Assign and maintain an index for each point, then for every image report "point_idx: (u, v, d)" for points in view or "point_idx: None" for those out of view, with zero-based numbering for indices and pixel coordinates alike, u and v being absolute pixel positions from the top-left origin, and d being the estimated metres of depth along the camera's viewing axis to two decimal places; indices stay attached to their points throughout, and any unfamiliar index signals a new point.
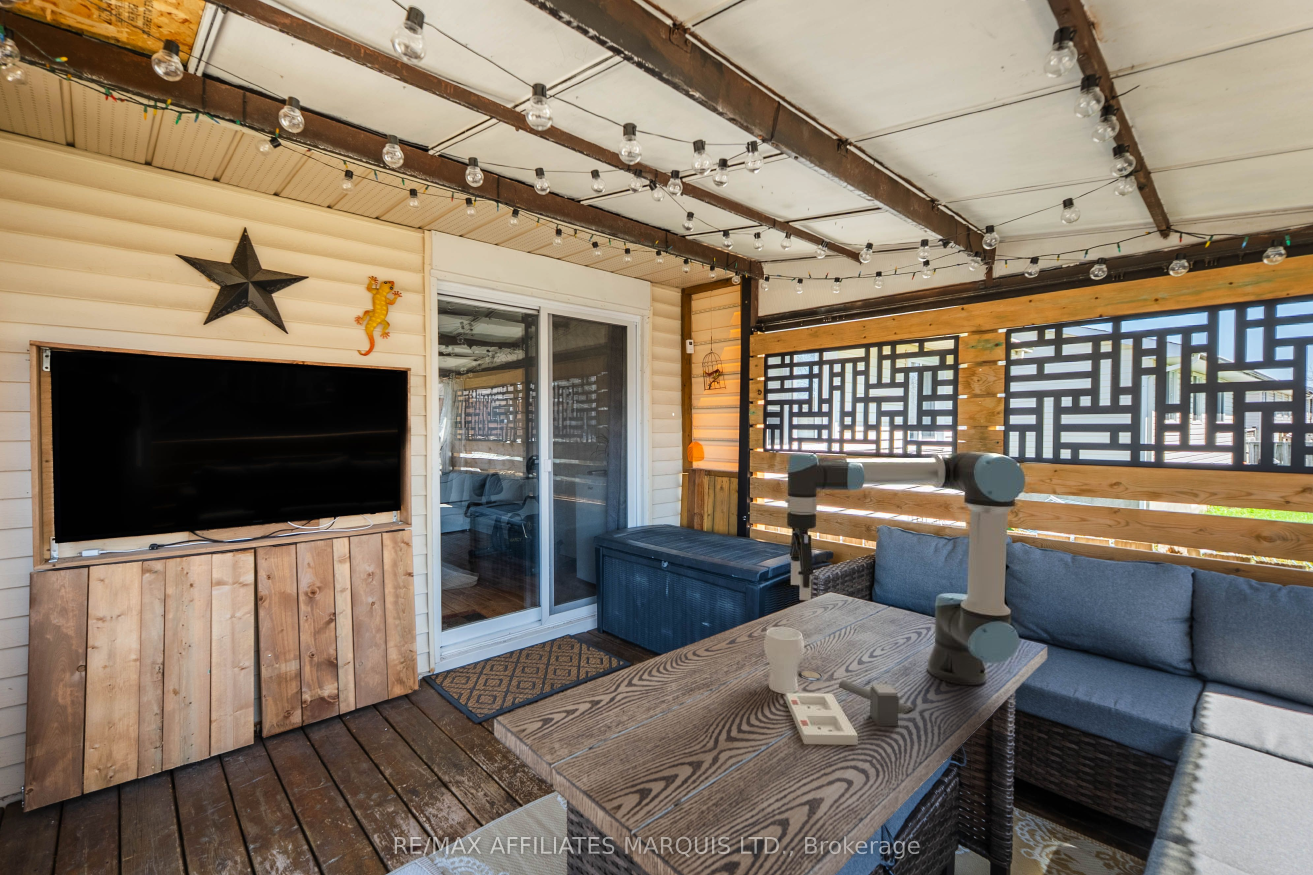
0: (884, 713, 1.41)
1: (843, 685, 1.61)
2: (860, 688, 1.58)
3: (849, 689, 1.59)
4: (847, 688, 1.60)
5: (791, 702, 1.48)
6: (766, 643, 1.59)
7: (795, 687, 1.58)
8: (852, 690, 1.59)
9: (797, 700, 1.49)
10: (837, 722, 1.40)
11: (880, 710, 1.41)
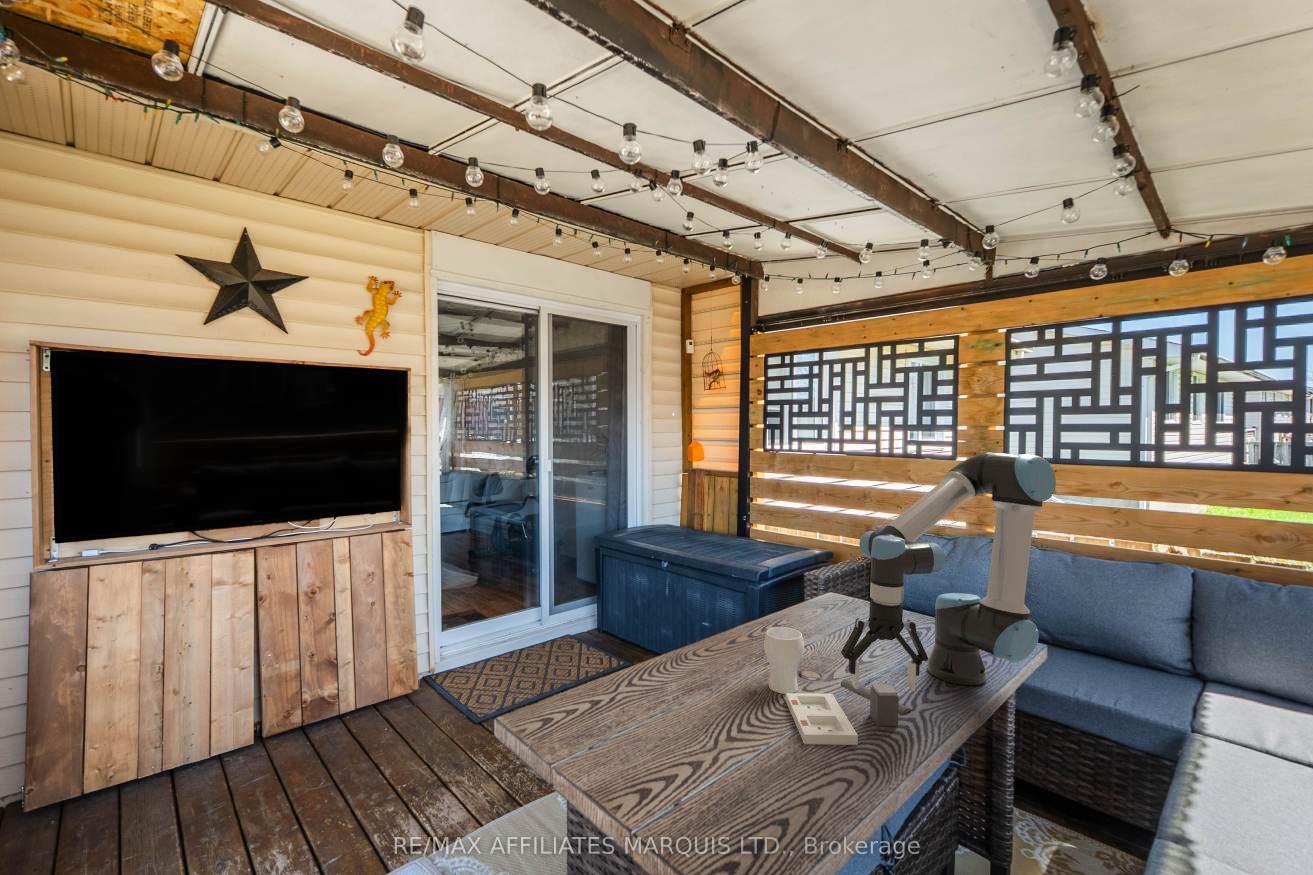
0: (884, 713, 1.41)
1: (844, 684, 1.62)
2: (861, 688, 1.58)
3: (850, 688, 1.60)
4: (848, 687, 1.60)
5: (791, 702, 1.48)
6: (766, 643, 1.59)
7: (795, 687, 1.58)
8: (853, 689, 1.59)
9: (797, 700, 1.49)
10: (837, 722, 1.40)
11: (880, 710, 1.41)
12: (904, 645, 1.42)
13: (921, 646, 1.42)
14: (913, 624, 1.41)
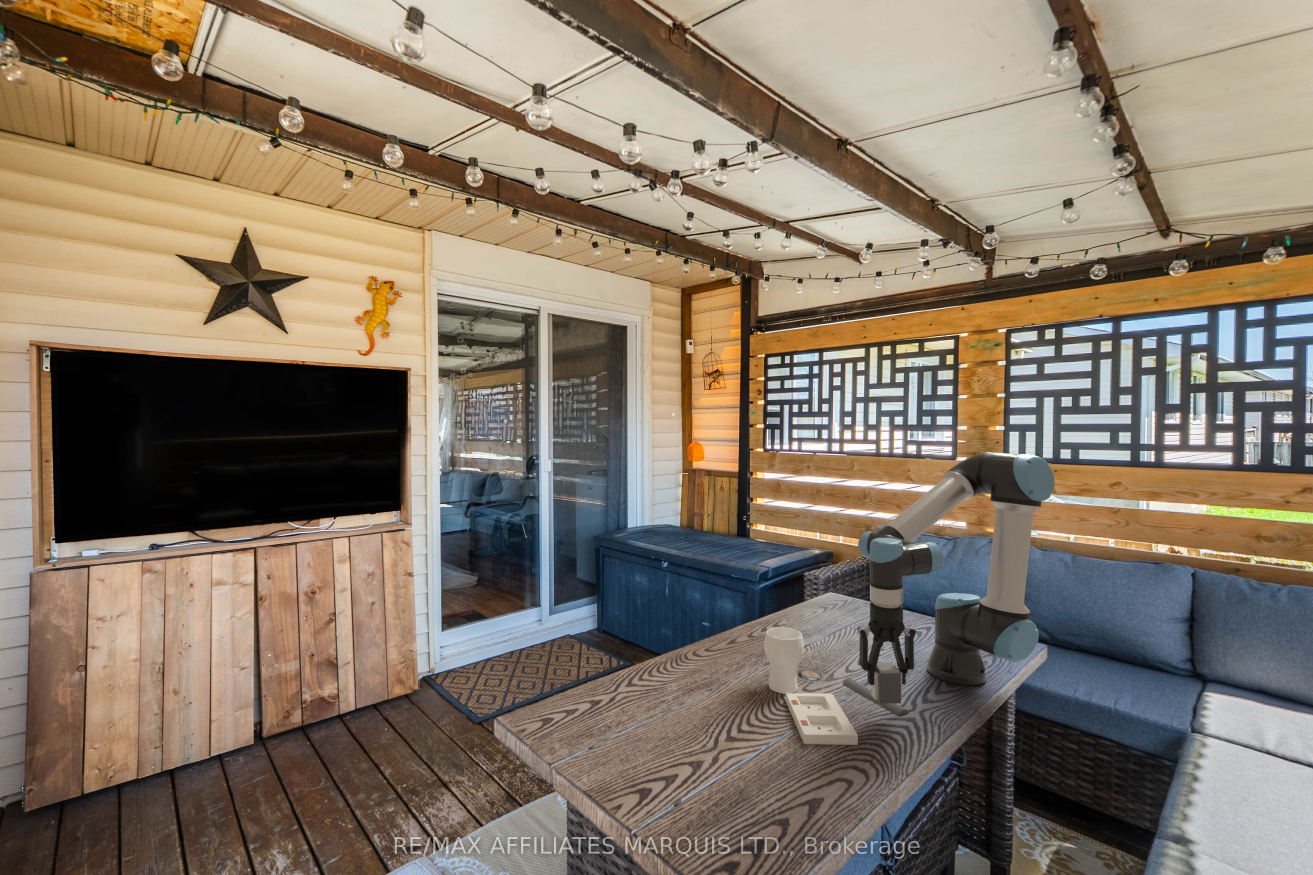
0: (886, 691, 1.41)
1: (847, 683, 1.62)
2: (862, 687, 1.59)
3: (851, 687, 1.60)
4: (850, 686, 1.61)
5: (791, 702, 1.48)
6: (766, 643, 1.59)
7: (795, 687, 1.58)
8: (854, 688, 1.60)
9: (797, 700, 1.49)
10: (837, 722, 1.40)
11: (882, 688, 1.41)
12: (897, 650, 1.42)
13: (912, 654, 1.42)
14: (914, 631, 1.42)
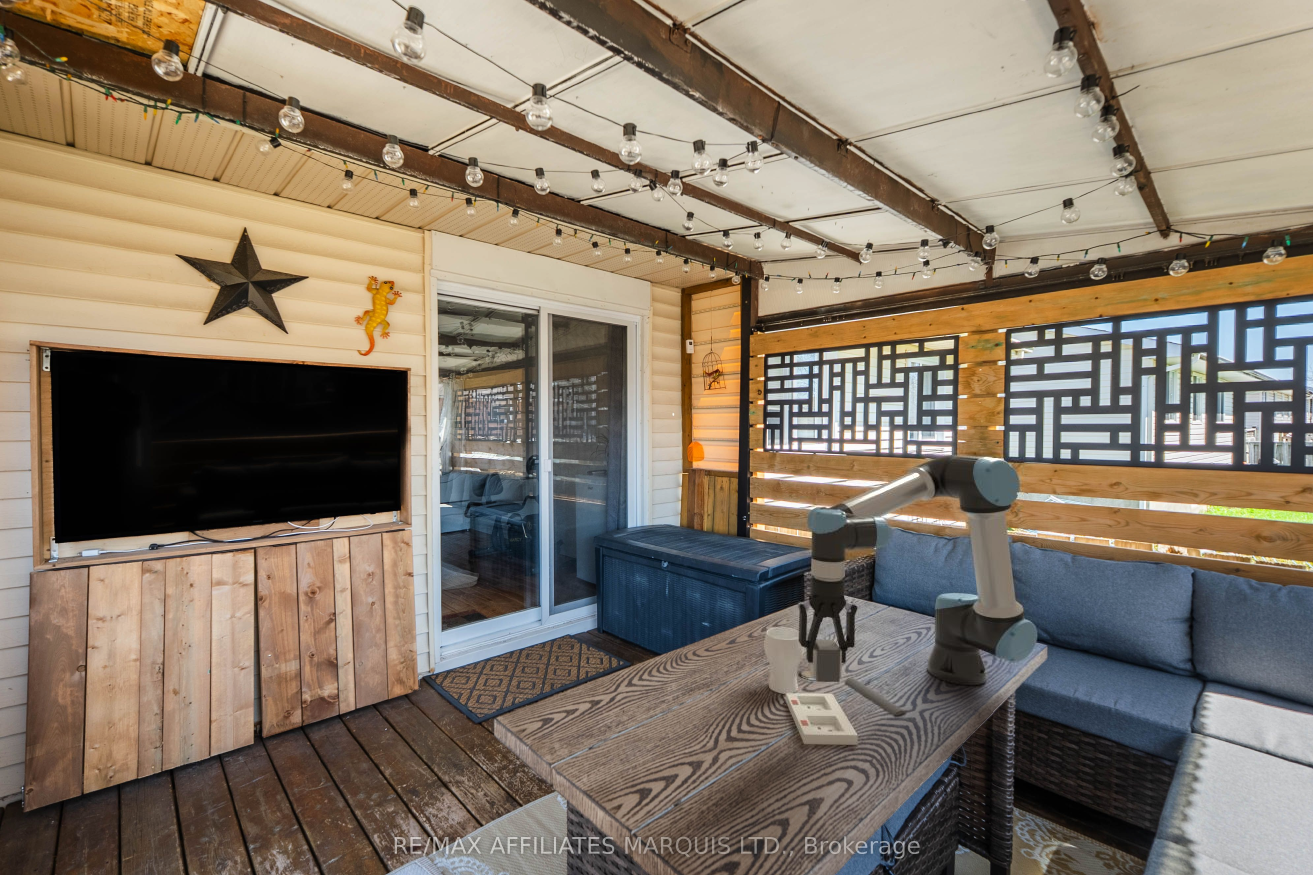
0: (825, 668, 1.35)
1: (849, 682, 1.63)
2: (863, 687, 1.59)
3: (852, 687, 1.61)
4: (851, 686, 1.61)
5: (791, 702, 1.48)
6: (766, 643, 1.59)
7: (795, 687, 1.58)
8: (855, 688, 1.60)
9: (797, 700, 1.49)
10: (837, 722, 1.40)
11: (821, 665, 1.35)
12: (837, 626, 1.36)
13: (853, 631, 1.36)
14: (855, 607, 1.35)
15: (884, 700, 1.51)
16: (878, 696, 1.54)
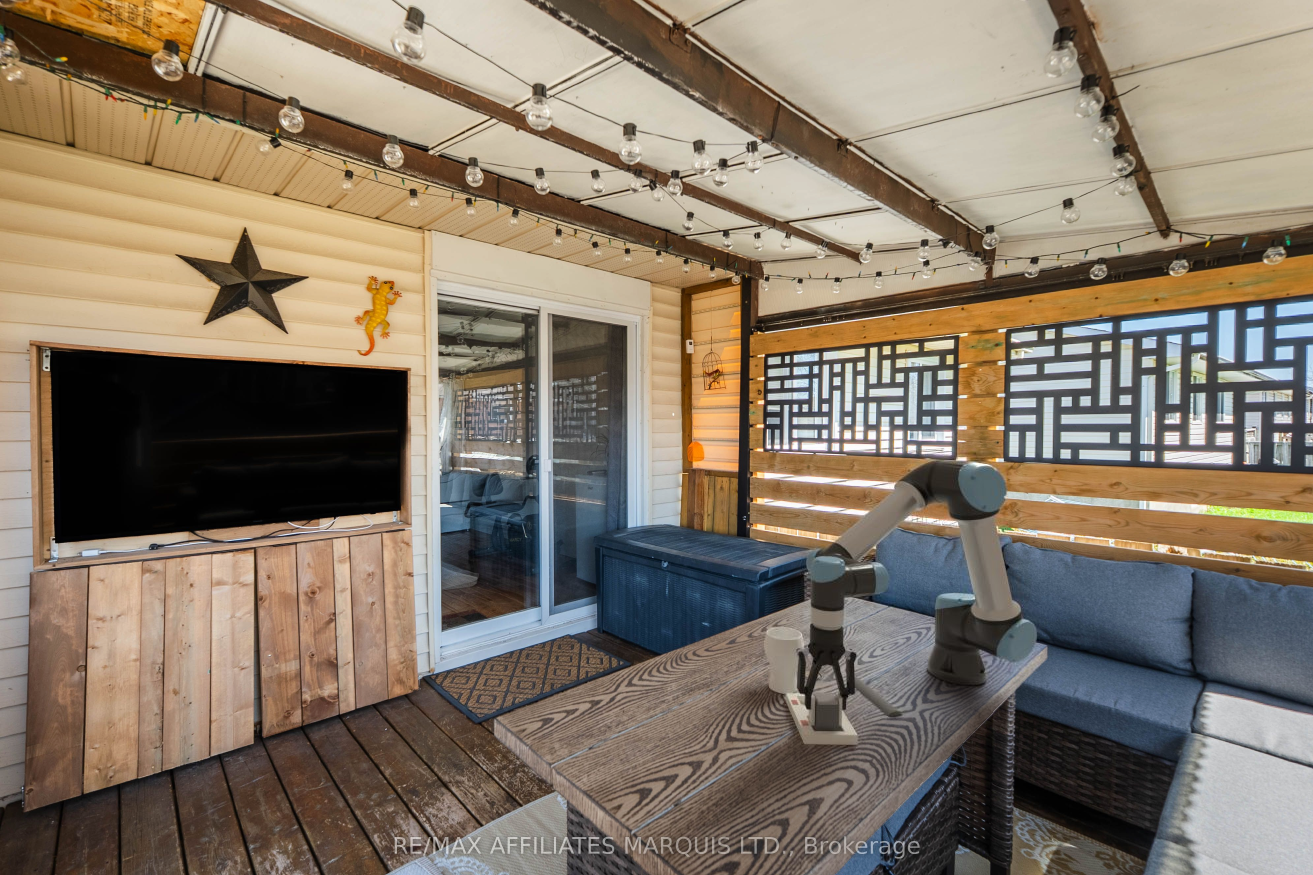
0: (824, 723, 1.35)
1: None
2: (864, 687, 1.59)
3: (855, 686, 1.61)
4: None
5: (791, 702, 1.48)
6: (766, 643, 1.59)
7: (795, 687, 1.58)
8: (857, 687, 1.60)
9: (797, 700, 1.49)
10: None
11: (820, 720, 1.35)
12: (837, 674, 1.36)
13: (853, 678, 1.36)
14: (854, 654, 1.36)
15: (882, 700, 1.51)
16: (877, 696, 1.53)
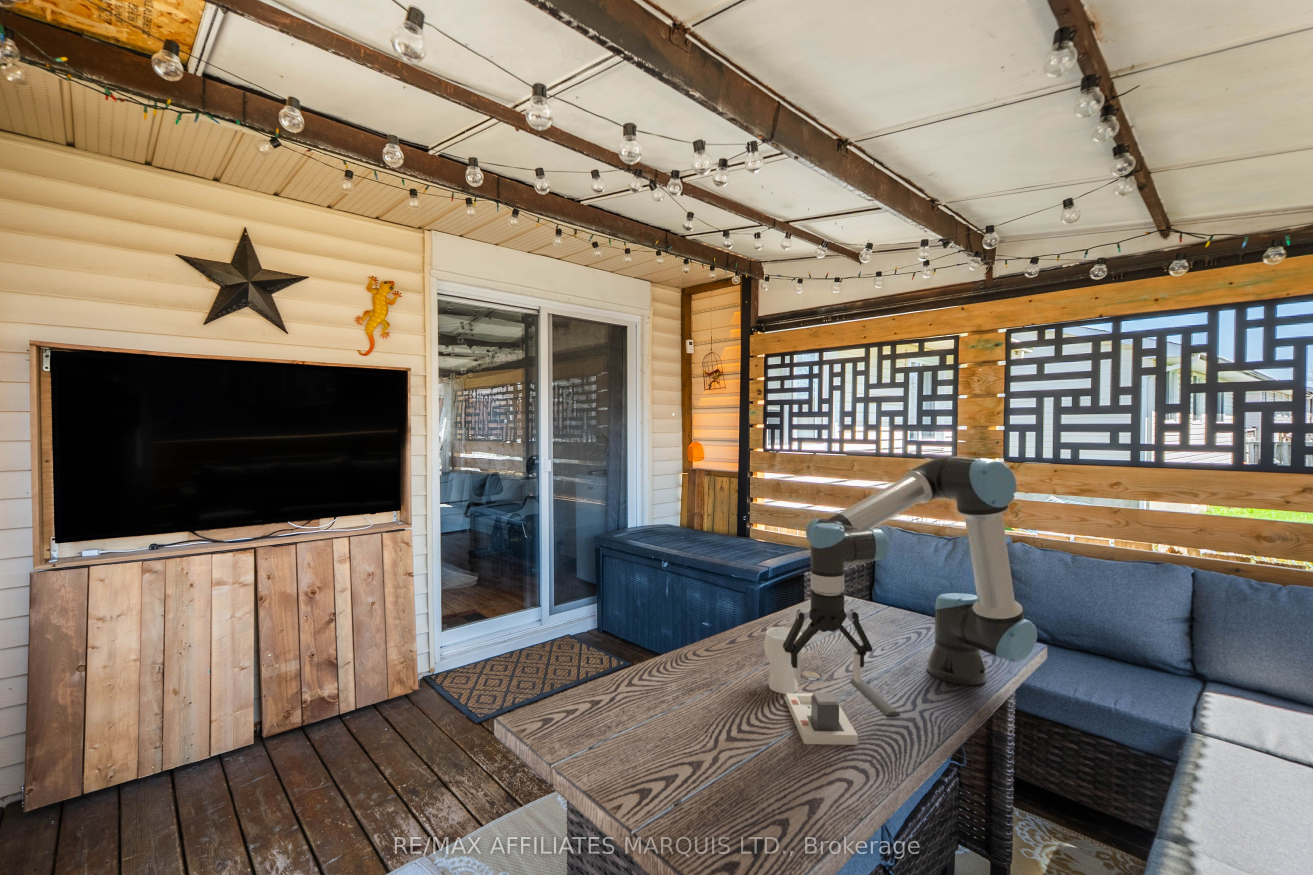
0: (824, 723, 1.35)
1: (853, 681, 1.63)
2: (865, 687, 1.59)
3: (856, 686, 1.61)
4: (855, 685, 1.62)
5: (791, 702, 1.48)
6: (766, 643, 1.59)
7: (795, 687, 1.58)
8: (857, 687, 1.60)
9: (797, 700, 1.49)
10: None
11: (820, 720, 1.35)
12: (847, 636, 1.36)
13: (865, 636, 1.36)
14: (855, 614, 1.36)
15: (881, 700, 1.51)
16: (876, 696, 1.53)
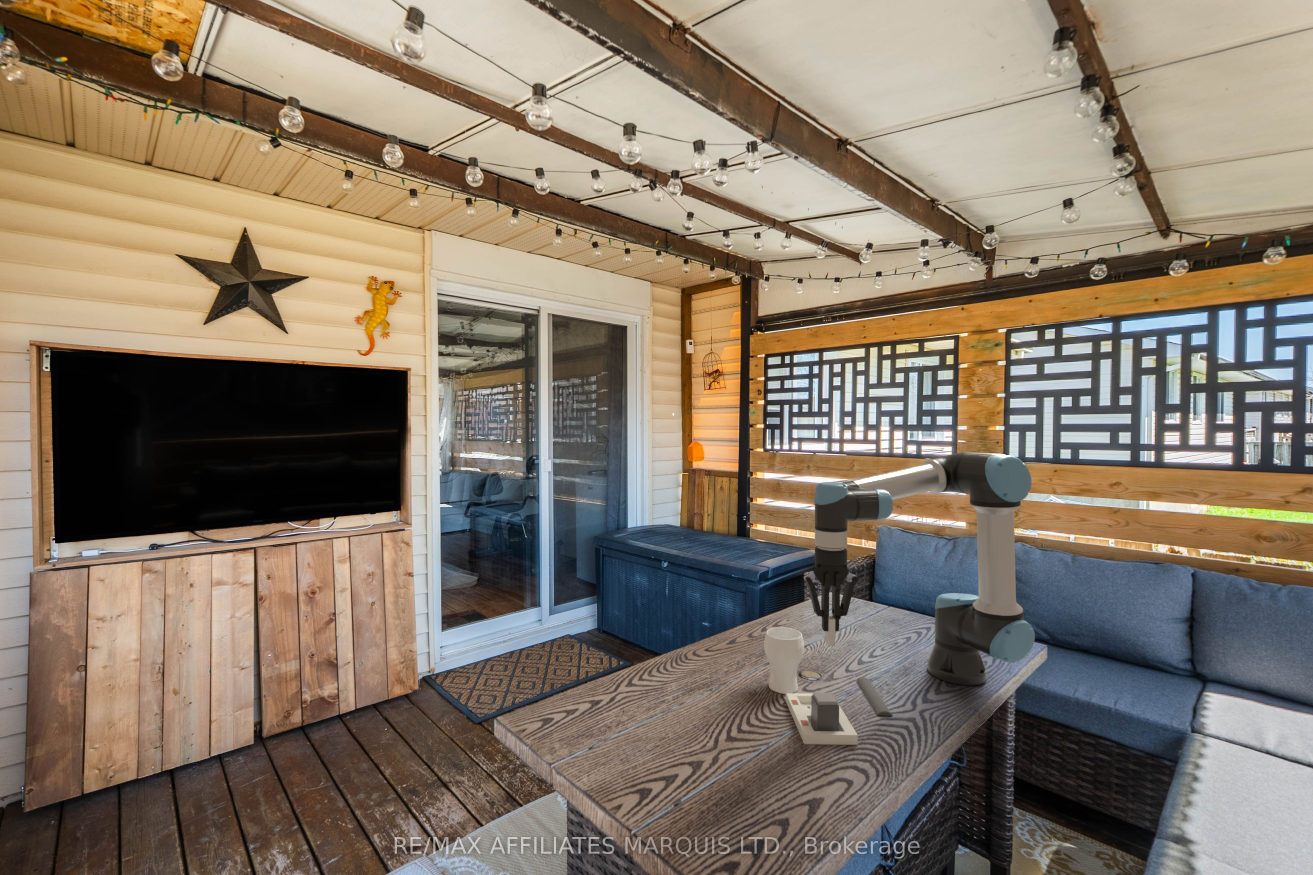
0: (824, 723, 1.35)
1: (859, 681, 1.64)
2: (867, 686, 1.59)
3: (860, 685, 1.62)
4: (859, 684, 1.62)
5: (791, 702, 1.48)
6: (766, 643, 1.59)
7: (795, 687, 1.58)
8: (861, 686, 1.61)
9: (797, 700, 1.49)
10: None
11: (820, 720, 1.35)
12: (836, 595, 1.41)
13: (849, 601, 1.41)
14: (856, 578, 1.40)
15: (877, 700, 1.51)
16: (874, 696, 1.53)
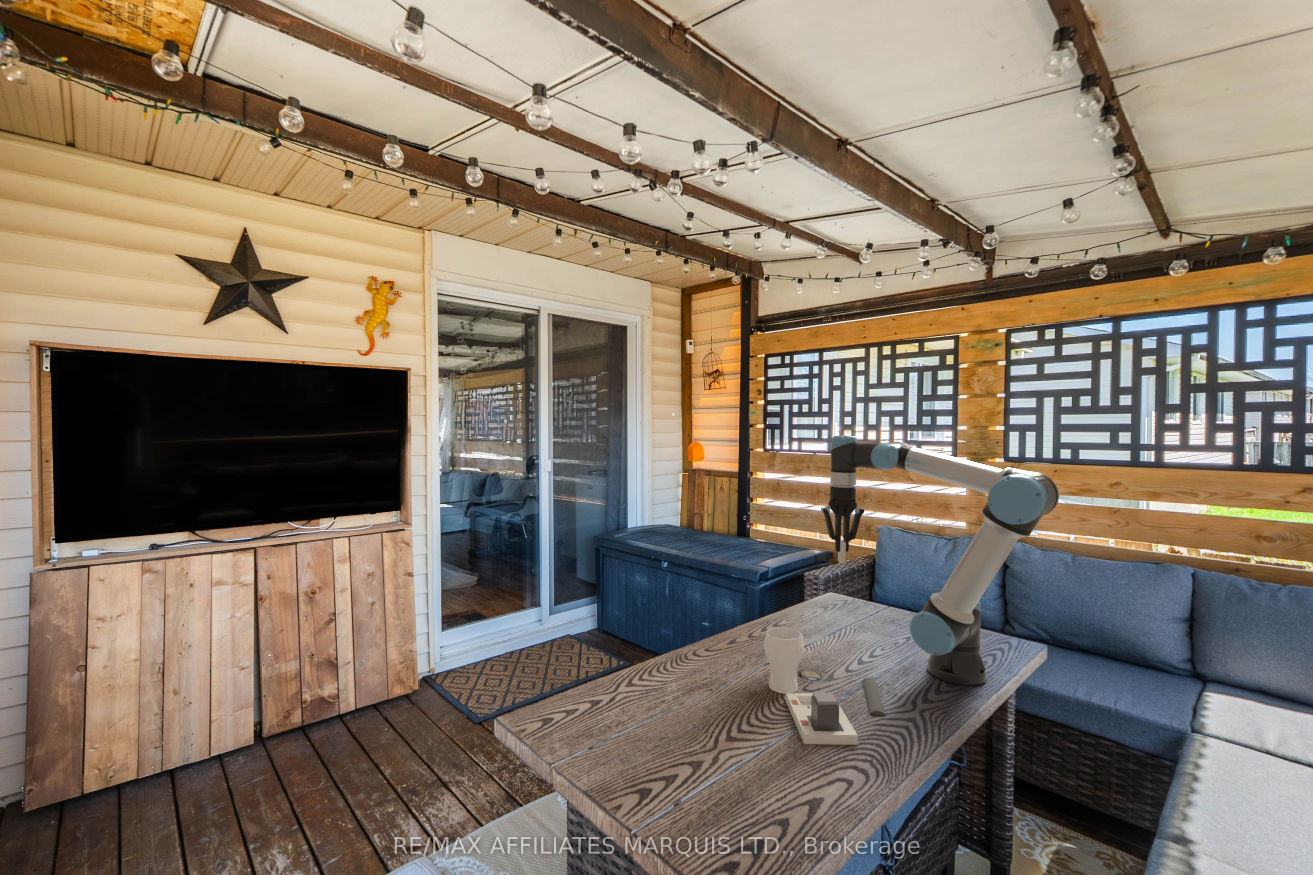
0: (824, 723, 1.35)
1: (864, 681, 1.64)
2: (869, 686, 1.59)
3: (863, 685, 1.62)
4: (863, 684, 1.62)
5: (791, 702, 1.48)
6: (766, 643, 1.59)
7: (795, 687, 1.58)
8: (864, 686, 1.61)
9: (797, 700, 1.49)
10: None
11: (820, 720, 1.35)
12: (846, 523, 1.80)
13: (856, 528, 1.80)
14: (863, 510, 1.80)
15: (874, 700, 1.51)
16: (873, 696, 1.54)
